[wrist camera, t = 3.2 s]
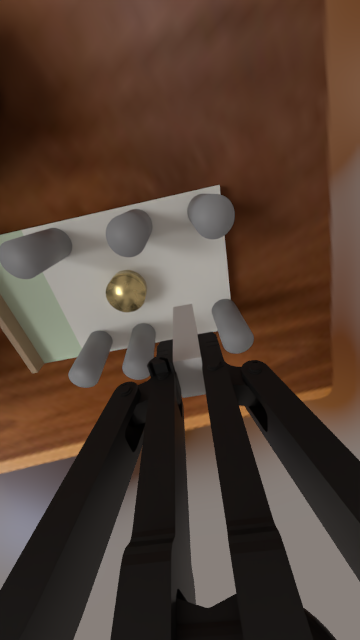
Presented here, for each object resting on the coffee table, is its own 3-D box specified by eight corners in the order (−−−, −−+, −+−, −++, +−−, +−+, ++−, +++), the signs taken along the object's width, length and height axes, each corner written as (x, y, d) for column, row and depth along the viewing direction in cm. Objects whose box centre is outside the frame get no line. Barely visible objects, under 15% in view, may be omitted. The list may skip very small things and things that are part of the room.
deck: (43, 359, 34) (8, 404, 26) (-32, 242, 25) (-111, 261, 18) (235, 322, 32) (254, 360, 25) (223, 183, 24) (246, 180, 16)
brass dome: (117, 307, 29) (113, 315, 27) (104, 274, 26) (99, 280, 25) (151, 300, 28) (149, 308, 26) (141, 266, 26) (139, 272, 24)
